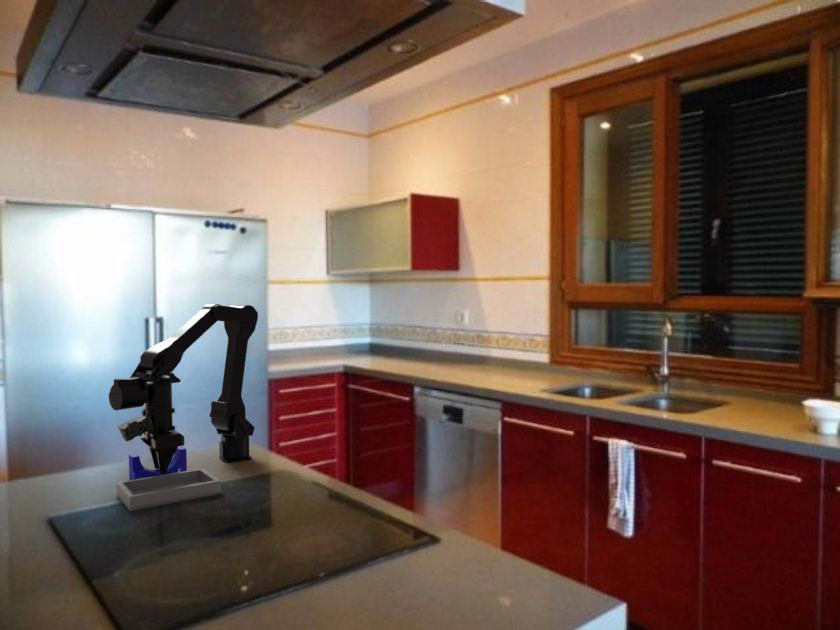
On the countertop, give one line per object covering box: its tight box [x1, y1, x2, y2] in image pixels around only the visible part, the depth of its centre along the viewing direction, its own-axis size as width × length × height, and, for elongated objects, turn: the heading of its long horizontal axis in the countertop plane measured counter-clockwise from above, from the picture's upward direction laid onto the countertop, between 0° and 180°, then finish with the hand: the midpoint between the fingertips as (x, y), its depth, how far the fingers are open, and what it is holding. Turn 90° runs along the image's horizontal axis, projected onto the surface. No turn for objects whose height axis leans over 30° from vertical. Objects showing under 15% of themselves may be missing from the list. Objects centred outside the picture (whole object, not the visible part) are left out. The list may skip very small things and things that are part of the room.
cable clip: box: [128, 446, 188, 481], centre depth 149 cm, size 12×4×6 cm, turn 129°
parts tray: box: [116, 467, 222, 512], centre depth 136 cm, size 18×12×3 cm, turn 126°
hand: (160, 471), depth 150 cm, fingers closed on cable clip, 5 cm apart
